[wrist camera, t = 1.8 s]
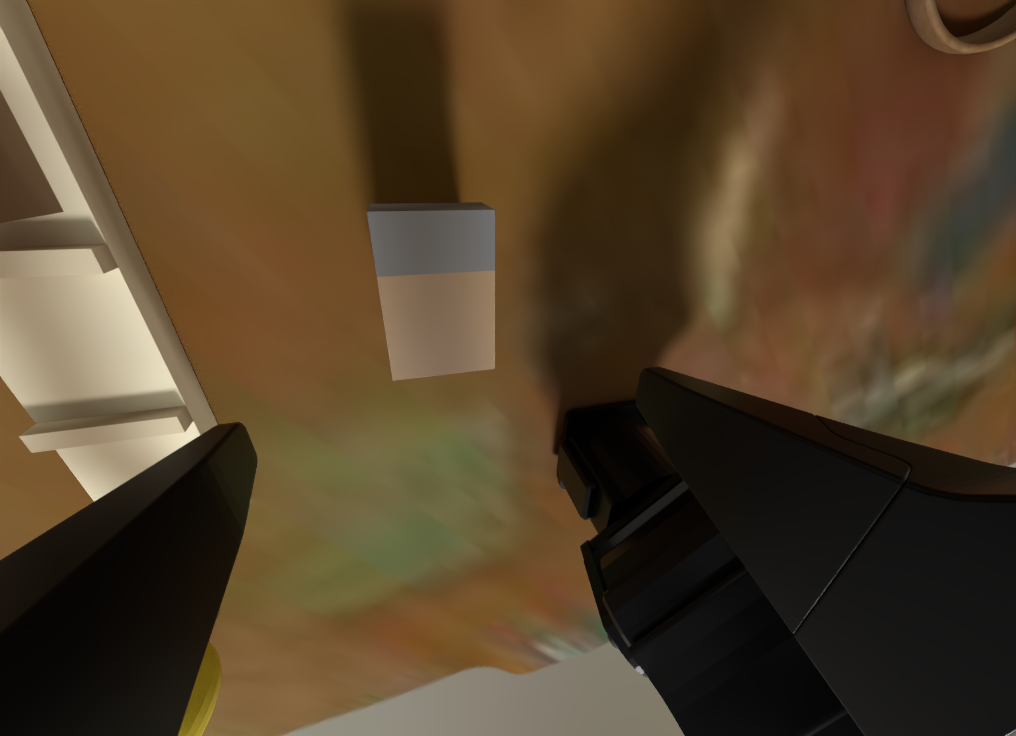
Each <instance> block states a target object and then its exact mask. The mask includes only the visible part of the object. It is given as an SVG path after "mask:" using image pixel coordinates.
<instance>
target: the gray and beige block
mask: <svg viewBox="0 0 1016 736" xmlns="http://www.w3.org/2000/svg"><path fill="white" fill-rule="evenodd" d="M367 216H368V223H369V229H370V236H371V242H372V249H373V255H374V262H375V268H376V275H377V281H378V287H379V294H380V300H381V307H382V313H383V320H384V326H385V333H386V339H387V346H388V352H389V359H390V365H391V371H392V378H393V381H395V380H404V379H412V378H420V377H429V376H437V375H446V374H454V373H462V372H471V371H479V370H488V369H495V210H494V209H493V208H491V207H489V206H487V205H485V204H483V203H384V204H370V205H369V207H368V210H367Z"/></svg>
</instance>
